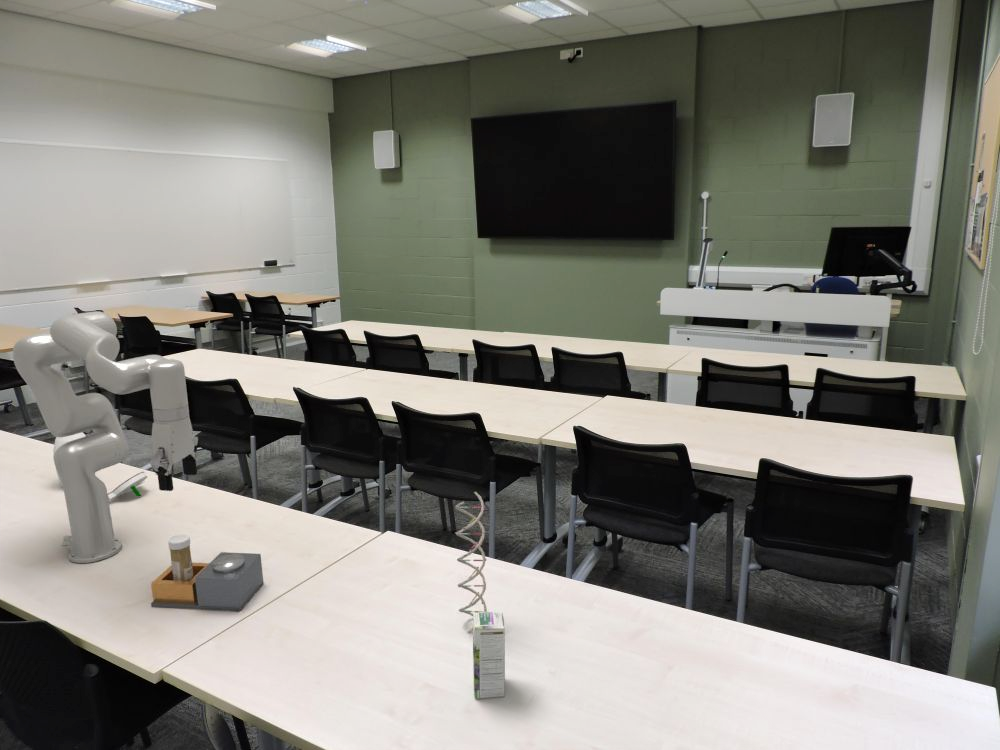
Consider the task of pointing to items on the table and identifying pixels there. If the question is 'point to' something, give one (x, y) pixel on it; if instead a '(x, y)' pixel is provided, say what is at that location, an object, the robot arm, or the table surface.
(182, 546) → the spice jar
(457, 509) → the dna model
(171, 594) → the grey orange box device
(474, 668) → the syrup box
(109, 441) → the robot arm
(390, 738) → the table surface
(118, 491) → the tabbed white plastic disc
